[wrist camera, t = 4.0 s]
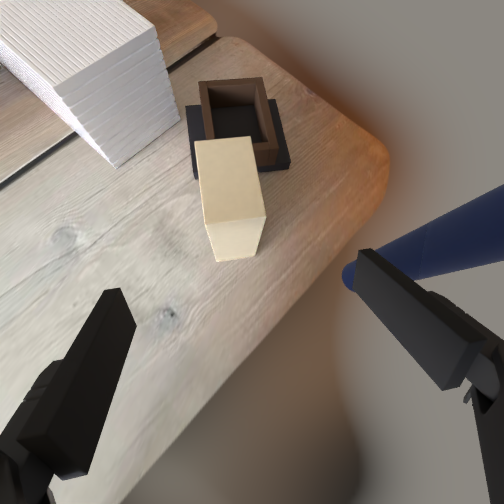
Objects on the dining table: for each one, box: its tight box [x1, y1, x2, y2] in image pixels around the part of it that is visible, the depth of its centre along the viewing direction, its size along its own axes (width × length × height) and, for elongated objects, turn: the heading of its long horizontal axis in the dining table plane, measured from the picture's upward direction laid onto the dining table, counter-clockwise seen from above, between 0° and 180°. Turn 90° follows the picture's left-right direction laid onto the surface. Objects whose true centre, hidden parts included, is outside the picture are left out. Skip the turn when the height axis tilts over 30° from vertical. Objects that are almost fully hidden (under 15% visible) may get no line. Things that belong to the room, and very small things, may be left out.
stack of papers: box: [0, 0, 180, 169], centre depth 28 cm, size 32×11×11 cm, turn 48°
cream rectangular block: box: [194, 136, 266, 262], centre depth 23 cm, size 4×7×11 cm, turn 10°
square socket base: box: [185, 77, 291, 179], centre depth 30 cm, size 12×10×4 cm
